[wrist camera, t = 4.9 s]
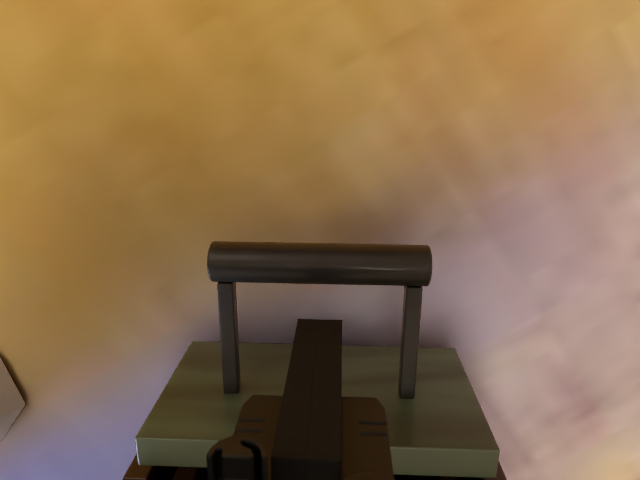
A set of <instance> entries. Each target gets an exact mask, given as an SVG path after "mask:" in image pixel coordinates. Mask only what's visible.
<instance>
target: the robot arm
mask: <svg viewBox="0 0 640 480" xmlns="http://www.w3.org/2000/svg"><path fill="white" fill-rule="evenodd" d="M206 461H207V475H208V480H395V478H394V473H393V466H392V458H391V450H390V443H389V436H388V428H387V420H386V412H385V408H384V407H383V406H382V404H381V403H380V402H379V401H378V399H377V398H374V397H344V396H342V320H318V319H298V322H297V327H296V332H295V337H294V342H293V348H292V353H291V358H290V363H289V368H288V373H287V378H286V383H285V388H284V393H283V396H276V395H252V396H251V397H250V398H249V399H248V400H247V401H246V402H245V403H244V404H243V405H242V408H241V411H240V414H239V417H238V421H237V424H236V427H235V432H234V433H233V436H231V437H228V438H225V439H222V440H220V441H219V442H217V443H216V444H214V445H213V446H212V447H211V448H210V450H209V451H208V453H207V454H206Z"/></svg>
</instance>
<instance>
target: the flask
mask: <svg viewBox="0 0 640 480" xmlns="http://www.w3.org/2000/svg"><path fill="white" fill-rule="evenodd" d="M24 406H25V402H24V400H23V399H22V397H21V395H20V393H19V391H18V389H17V387H16V385H15V384H14V382H13V380H12V378H11V376H10V374H9V372H8V371H7V369H6V367H5V365H4V363H3V361H2V359H1V358H0V440H2V439H3V438H4V436H5V435H6V433H7V432H8V430H9V429H10V427H11V426H12V424H13V423H14V421H15V419H16V418H17V416H18V415H19V413H20V412H21V410H22V409H23V407H24Z"/></svg>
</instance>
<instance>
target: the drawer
mask: <svg viewBox="0 0 640 480" xmlns="http://www.w3.org/2000/svg"><path fill="white" fill-rule="evenodd" d="M207 269H208V275H209V278H210V280H211V281H213V282H218V284H217V290H218V306H219V323H220V339H221V342H195V341H193V342H192V343H191V345H190V346H189V348H188V350H187V351H186V353H185V355H184V356H183V358H182V360H181V361H180V363H179V365H178V367H177V368H176V370H175V372H174V373H173V375H172V377H171V378H170V380H169V382H168V383H167V385H166V387H165V389H164V390H163V392H162V394H161V395H160V397H159V399H158V400H157V402H156V404H155V405H154V407H153V409H152V410H151V412H150V414H149V416H148V417H147V419H146V421H145V422H144V424H143V426H142V427H141V429H140V431H139V432H138V434H137V436H136V438H135V441H136V449H137V457H138V464H139V465H144V466H171V467H178V468H177V471H176V473H175V475H174V478H173V480H208V475H207V461H206V454H207V453H208V451H209V450H210V448H211V447H212V446H213V445H214V444H216V443H217V442H219V441H220V440H222V439H225V438H228V437H231V436H233V433H234V432H235V427H236V424H237V421H238V417H239V414H240V411H241V408H242V405H243V404H244V403H245V402H246V401H247V400H248V399H249V398H250V397H251V396H252V395H276V396H283V393H284V388H285V383H286V378H287V373H288V368H289V363H290V358H291V353H292V348H293V344H272V343H239V339H238V318H237V298H236V282H251V283H298V284H345V285H392V286H404V301H403V318H402V334H401V347H387V346H349V345H342V396H344V397H374V398H377V399H378V401H379V402H380V403H381V404H382V406H383V407H384V408H385V412H386V420H387V428H388V436H389V443H390V450H391V458H392V466H393V473H394V478H395V480H459V477H478V478H496V474H497V467H498V460H499V452H500V450H499V448H498V445H497V443H496V441H495V439H494V436H493V434H492V432H491V430H490V427H489V425H488V423H487V420H486V418H485V416H484V414H483V411H482V409H481V407H480V405H479V402H478V400H477V398H476V396H475V393H474V391H473V389H472V386H471V384H470V382H469V380H468V377H467V375H466V373H465V371H464V368H463V366H462V364H461V361H460V359H459V357H458V355H457V352H456V350H455V349H454V348H426V347H418V344H419V330H420V317H421V303H422V290H423V289H422V286H428V285H429V284H430V281H431V275H432V255H431V250H430V247H429V246H427V245H388V244H333V243H278V242H223V241H214V242H212V243H211V245H210V247H209V251H208V258H207Z"/></svg>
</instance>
